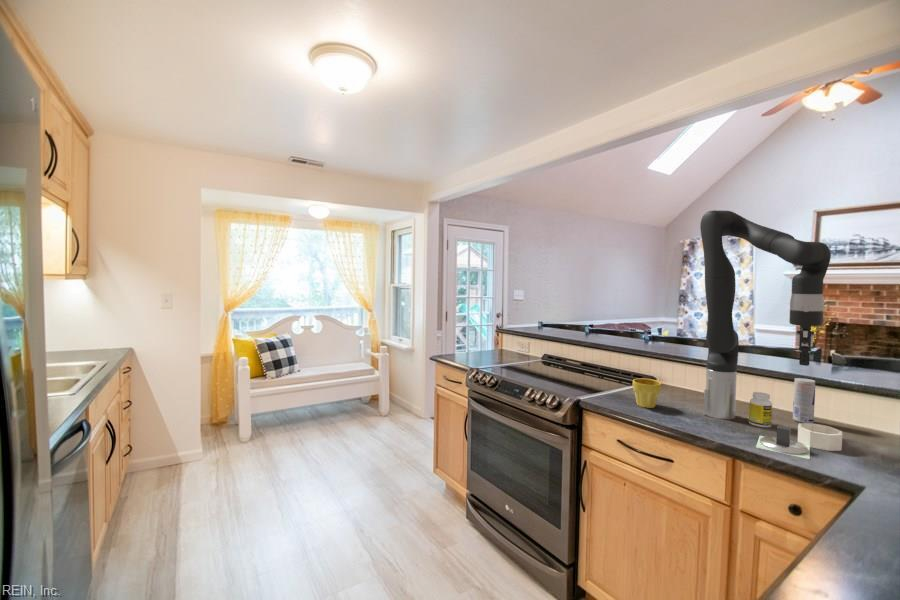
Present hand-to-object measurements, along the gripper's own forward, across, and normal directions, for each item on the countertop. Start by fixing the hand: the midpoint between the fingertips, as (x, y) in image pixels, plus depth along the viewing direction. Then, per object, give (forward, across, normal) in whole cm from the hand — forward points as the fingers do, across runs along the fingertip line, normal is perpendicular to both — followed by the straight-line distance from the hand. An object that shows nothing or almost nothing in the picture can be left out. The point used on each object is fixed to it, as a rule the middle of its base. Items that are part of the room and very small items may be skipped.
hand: (804, 362), depth 121 cm
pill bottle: (+26, -13, -11) cm, 31 cm away
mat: (+25, +6, -4) cm, 26 cm away
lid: (+25, +6, -4) cm, 26 cm away
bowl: (+25, -4, +4) cm, 26 cm away
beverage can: (+26, -28, 0) cm, 38 cm away
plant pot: (+26, -11, -47) cm, 54 cm away
